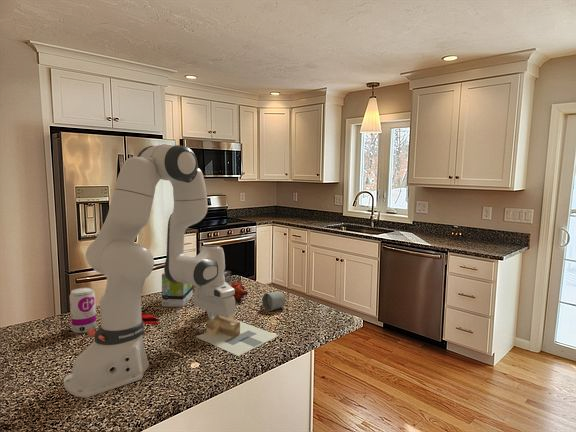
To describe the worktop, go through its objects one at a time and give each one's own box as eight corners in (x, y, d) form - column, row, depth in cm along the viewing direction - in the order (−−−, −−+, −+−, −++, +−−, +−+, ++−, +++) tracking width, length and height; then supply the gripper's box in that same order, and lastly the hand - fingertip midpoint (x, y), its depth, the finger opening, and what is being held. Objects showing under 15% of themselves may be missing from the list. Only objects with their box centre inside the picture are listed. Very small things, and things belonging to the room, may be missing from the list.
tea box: (184, 307, 164) (183, 274, 163) (161, 307, 165) (160, 274, 163) (193, 296, 179) (192, 266, 178) (172, 296, 179) (171, 265, 178)
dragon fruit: (231, 297, 182) (243, 308, 173) (219, 290, 177) (230, 301, 168) (241, 283, 184) (254, 292, 174) (229, 275, 178) (241, 285, 169)
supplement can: (99, 329, 140) (98, 290, 139) (75, 335, 134) (73, 295, 133) (91, 323, 146) (89, 285, 144) (68, 329, 140) (66, 290, 138)
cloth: (111, 313, 158) (111, 308, 158) (144, 306, 167) (144, 301, 167) (130, 333, 138) (130, 327, 138) (166, 324, 147) (166, 319, 147)
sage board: (238, 357, 120) (238, 355, 120) (195, 338, 133) (195, 336, 133) (279, 336, 135) (279, 335, 135) (236, 321, 149) (236, 320, 149)
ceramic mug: (287, 308, 163) (286, 291, 163) (272, 313, 158) (272, 295, 157) (271, 303, 171) (271, 286, 171) (257, 307, 166) (257, 290, 165)
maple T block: (224, 340, 130) (224, 328, 130) (206, 333, 137) (206, 321, 136) (247, 330, 139) (247, 319, 138) (229, 323, 145) (229, 312, 145)
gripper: (189, 283, 145) (189, 318, 146) (225, 294, 132) (225, 332, 133) (202, 280, 150) (202, 313, 151) (238, 290, 137) (238, 327, 138)
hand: (213, 322), depth 142 cm, fingers closed
